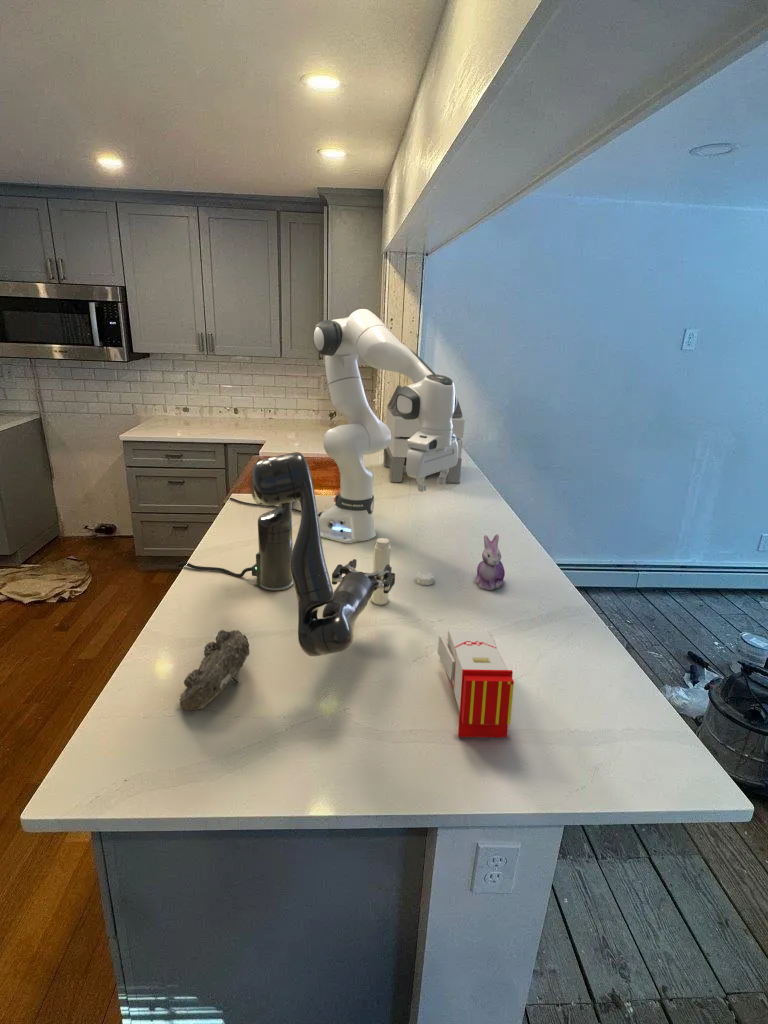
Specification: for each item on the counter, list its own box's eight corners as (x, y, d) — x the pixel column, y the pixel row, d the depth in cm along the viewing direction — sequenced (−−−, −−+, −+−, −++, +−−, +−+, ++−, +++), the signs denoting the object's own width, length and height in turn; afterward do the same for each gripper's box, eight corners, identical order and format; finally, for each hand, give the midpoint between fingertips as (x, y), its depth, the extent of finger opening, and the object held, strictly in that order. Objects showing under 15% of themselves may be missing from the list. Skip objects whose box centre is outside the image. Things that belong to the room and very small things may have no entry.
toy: (488, 613, 130) (523, 677, 101) (484, 667, 133) (517, 744, 104) (435, 612, 130) (455, 676, 101) (432, 666, 133) (451, 743, 103)
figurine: (487, 593, 160) (493, 544, 155) (466, 578, 168) (471, 531, 163) (513, 587, 164) (520, 540, 159) (491, 573, 172) (497, 527, 167)
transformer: (382, 463, 289) (386, 382, 275) (445, 464, 293) (451, 384, 279) (390, 482, 257) (394, 392, 243) (460, 483, 261) (468, 394, 247)
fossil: (201, 632, 127) (249, 601, 122) (231, 661, 130) (278, 632, 125) (157, 704, 108) (212, 671, 103) (193, 736, 111) (248, 705, 106)
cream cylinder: (390, 600, 154) (394, 540, 148) (381, 606, 151) (383, 544, 145) (378, 595, 156) (381, 536, 150) (369, 601, 153) (371, 540, 147)
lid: (414, 583, 165) (415, 577, 164) (419, 576, 169) (420, 570, 168) (429, 586, 163) (430, 580, 162) (434, 580, 167) (435, 574, 166)
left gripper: (383, 586, 122) (400, 555, 137) (321, 575, 125) (344, 547, 140) (382, 616, 124) (398, 583, 139) (321, 605, 128) (343, 574, 142)
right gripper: (446, 430, 161) (442, 477, 166) (403, 441, 146) (400, 492, 150) (465, 434, 157) (461, 482, 162) (423, 445, 142) (419, 498, 147)
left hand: (371, 565), depth 139 cm, fingers open, 8 cm apart
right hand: (431, 487), depth 156 cm, fingers open, 8 cm apart
